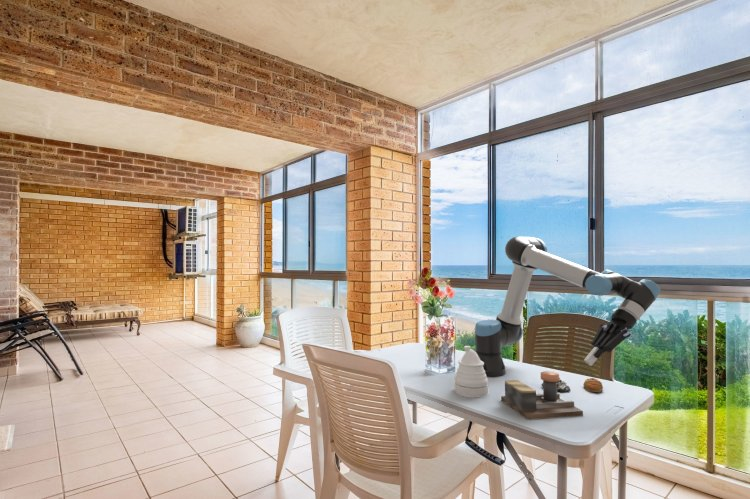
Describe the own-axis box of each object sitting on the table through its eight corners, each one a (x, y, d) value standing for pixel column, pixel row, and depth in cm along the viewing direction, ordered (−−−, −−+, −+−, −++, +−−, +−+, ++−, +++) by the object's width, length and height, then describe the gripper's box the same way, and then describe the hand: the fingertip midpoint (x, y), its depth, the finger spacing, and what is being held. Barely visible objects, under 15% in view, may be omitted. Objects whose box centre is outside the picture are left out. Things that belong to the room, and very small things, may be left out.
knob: (537, 399, 142) (537, 371, 143) (552, 398, 143) (552, 371, 144) (547, 405, 136) (547, 376, 137) (563, 404, 137) (562, 375, 138)
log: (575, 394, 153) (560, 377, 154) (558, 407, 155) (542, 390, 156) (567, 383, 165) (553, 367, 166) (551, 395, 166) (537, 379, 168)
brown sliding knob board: (501, 400, 146) (500, 378, 147) (550, 397, 150) (550, 375, 150) (527, 419, 129) (527, 394, 129) (582, 415, 132) (582, 390, 132)
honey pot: (471, 399, 147) (471, 351, 148) (447, 390, 158) (447, 345, 159) (495, 393, 154) (494, 347, 155) (471, 384, 165) (470, 341, 165)
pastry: (605, 394, 153) (605, 384, 153) (585, 393, 155) (585, 383, 155) (601, 387, 161) (600, 378, 162) (582, 385, 164) (582, 376, 164)
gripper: (648, 324, 139) (607, 375, 136) (619, 319, 152) (581, 365, 149) (634, 310, 139) (593, 360, 135) (607, 306, 152) (568, 351, 148)
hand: (587, 362), depth 142 cm, fingers closed
